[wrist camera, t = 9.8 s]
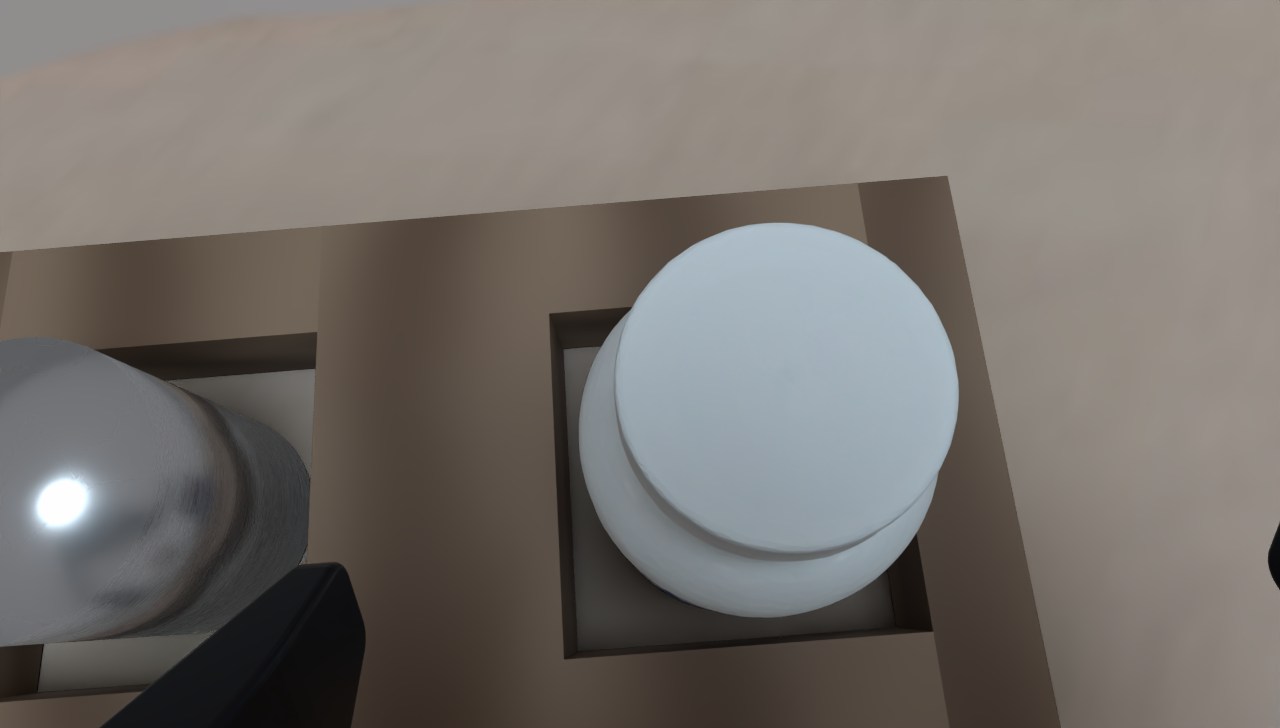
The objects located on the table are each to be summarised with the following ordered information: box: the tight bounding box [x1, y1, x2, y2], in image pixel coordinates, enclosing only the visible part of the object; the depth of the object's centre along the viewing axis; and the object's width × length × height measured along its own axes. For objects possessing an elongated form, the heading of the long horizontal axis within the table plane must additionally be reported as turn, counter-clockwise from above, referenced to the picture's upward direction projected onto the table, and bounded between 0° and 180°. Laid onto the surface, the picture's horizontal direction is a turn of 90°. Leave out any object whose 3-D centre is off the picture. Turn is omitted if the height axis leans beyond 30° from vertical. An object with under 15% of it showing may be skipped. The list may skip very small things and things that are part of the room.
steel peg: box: [0, 337, 311, 647], centre depth 16 cm, size 5×5×6 cm
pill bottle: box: [579, 223, 959, 618], centre depth 14 cm, size 5×5×10 cm
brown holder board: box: [0, 176, 1061, 728], centre depth 17 cm, size 23×12×2 cm, turn 94°
